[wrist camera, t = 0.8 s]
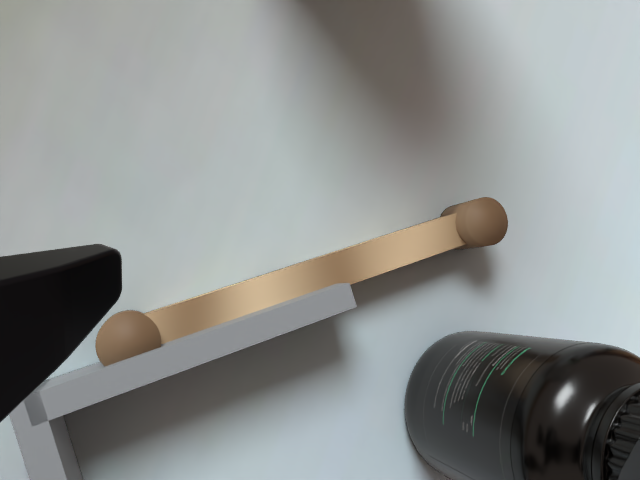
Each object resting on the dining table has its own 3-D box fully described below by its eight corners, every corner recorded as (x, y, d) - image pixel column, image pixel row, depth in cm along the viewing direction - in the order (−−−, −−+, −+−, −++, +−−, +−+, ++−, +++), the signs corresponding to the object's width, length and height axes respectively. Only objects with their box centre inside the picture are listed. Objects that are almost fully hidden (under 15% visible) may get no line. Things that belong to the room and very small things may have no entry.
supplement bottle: (545, 400, 28) (827, 470, 17) (462, 507, 26) (719, 670, 15) (465, 300, 27) (705, 303, 16) (371, 403, 25) (572, 492, 14)
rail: (108, 375, 21) (106, 384, 19) (91, 320, 21) (87, 323, 19) (482, 242, 28) (513, 237, 25) (469, 200, 28) (499, 191, 25)
